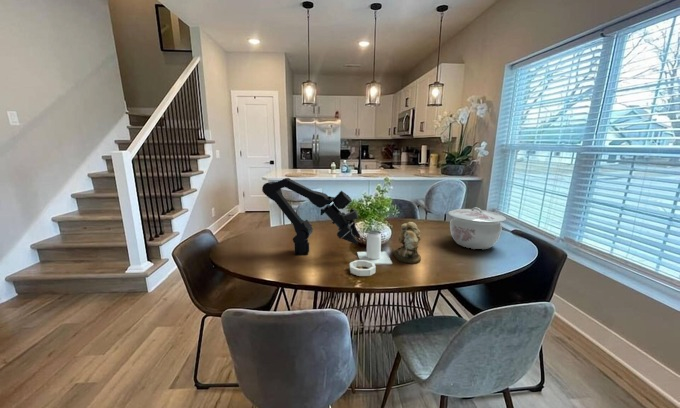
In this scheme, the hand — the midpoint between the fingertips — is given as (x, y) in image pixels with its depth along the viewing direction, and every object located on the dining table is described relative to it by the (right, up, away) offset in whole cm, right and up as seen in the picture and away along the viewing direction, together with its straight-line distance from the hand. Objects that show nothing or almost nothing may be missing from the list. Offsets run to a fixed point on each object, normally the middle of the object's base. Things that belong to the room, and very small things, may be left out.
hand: (358, 240), depth 133 cm
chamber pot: (+62, -5, +20) cm, 65 cm away
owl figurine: (+23, -8, +3) cm, 25 cm away
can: (+7, -8, 0) cm, 10 cm away
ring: (+1, -11, -13) cm, 17 cm away
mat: (+7, -8, 0) cm, 11 cm away
